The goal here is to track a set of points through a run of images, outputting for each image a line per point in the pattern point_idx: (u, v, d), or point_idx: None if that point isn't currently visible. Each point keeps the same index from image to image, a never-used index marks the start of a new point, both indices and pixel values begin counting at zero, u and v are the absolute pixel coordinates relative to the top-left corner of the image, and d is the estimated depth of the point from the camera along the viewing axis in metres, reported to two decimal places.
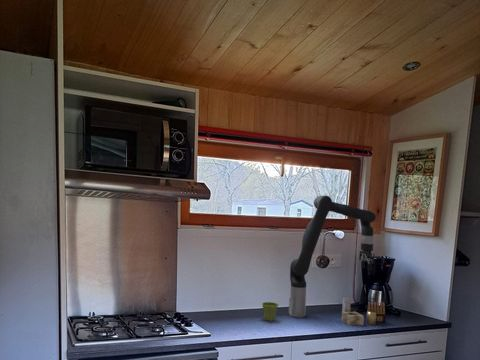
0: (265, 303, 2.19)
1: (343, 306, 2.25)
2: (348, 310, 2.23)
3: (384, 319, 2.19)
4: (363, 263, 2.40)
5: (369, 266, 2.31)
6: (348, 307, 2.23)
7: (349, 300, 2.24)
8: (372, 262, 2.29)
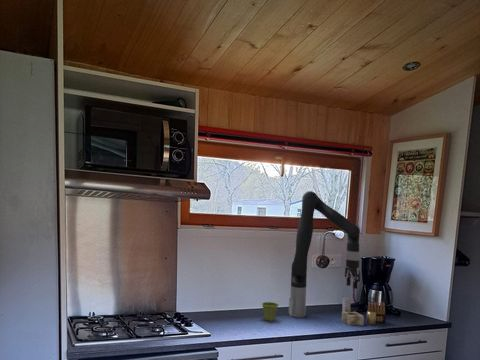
0: (265, 303, 2.19)
1: (343, 306, 2.25)
2: (348, 310, 2.23)
3: (384, 319, 2.19)
4: (349, 280, 2.24)
5: (354, 284, 2.15)
6: (348, 307, 2.23)
7: (349, 300, 2.24)
8: (357, 280, 2.13)
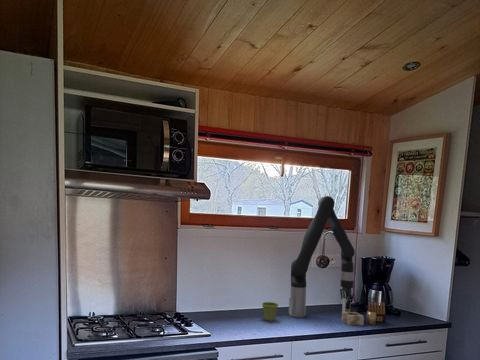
0: (265, 303, 2.19)
1: (343, 306, 2.25)
2: (348, 310, 2.23)
3: (384, 319, 2.19)
4: None
5: (347, 305, 2.22)
6: None
7: None
8: (350, 301, 2.20)
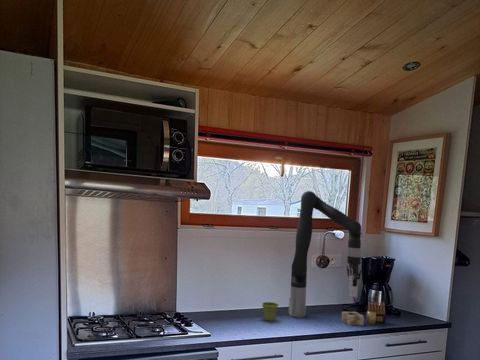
0: (265, 303, 2.19)
1: (350, 283, 2.18)
2: (355, 287, 2.16)
3: (384, 319, 2.19)
4: None
5: (354, 282, 2.16)
6: None
7: None
8: (357, 278, 2.14)
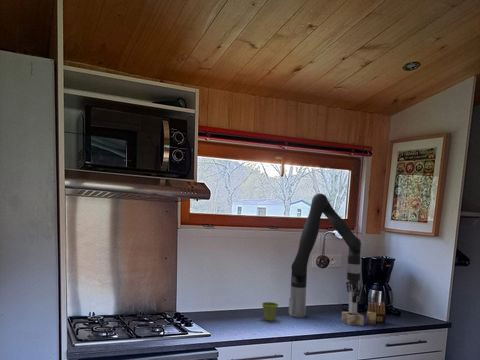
0: (265, 303, 2.19)
1: (350, 299, 2.18)
2: (355, 304, 2.16)
3: (384, 319, 2.19)
4: None
5: (354, 298, 2.15)
6: None
7: None
8: (357, 294, 2.13)
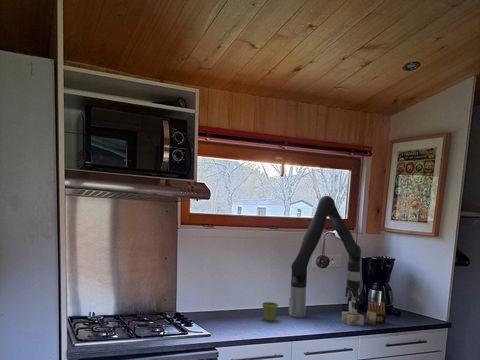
0: (265, 303, 2.19)
1: (349, 310, 2.17)
2: (355, 314, 2.15)
3: (384, 319, 2.19)
4: (350, 300, 2.21)
5: (355, 305, 2.12)
6: (355, 311, 2.15)
7: None
8: (359, 301, 2.11)
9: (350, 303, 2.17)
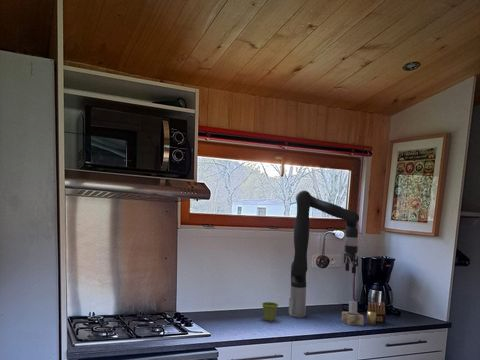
0: (265, 303, 2.19)
1: (349, 310, 2.17)
2: (355, 314, 2.15)
3: (384, 319, 2.19)
4: (347, 266, 2.29)
5: (353, 269, 2.21)
6: (355, 311, 2.15)
7: (356, 303, 2.16)
8: (356, 265, 2.19)
9: (350, 303, 2.17)
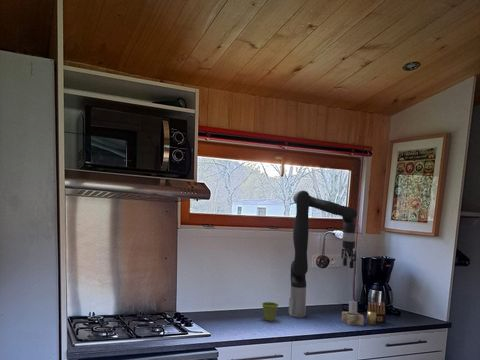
0: (265, 303, 2.19)
1: (349, 310, 2.17)
2: (355, 314, 2.15)
3: (384, 319, 2.19)
4: (345, 261, 2.34)
5: (350, 264, 2.25)
6: (355, 311, 2.15)
7: (356, 303, 2.16)
8: (353, 260, 2.23)
9: (350, 303, 2.17)
